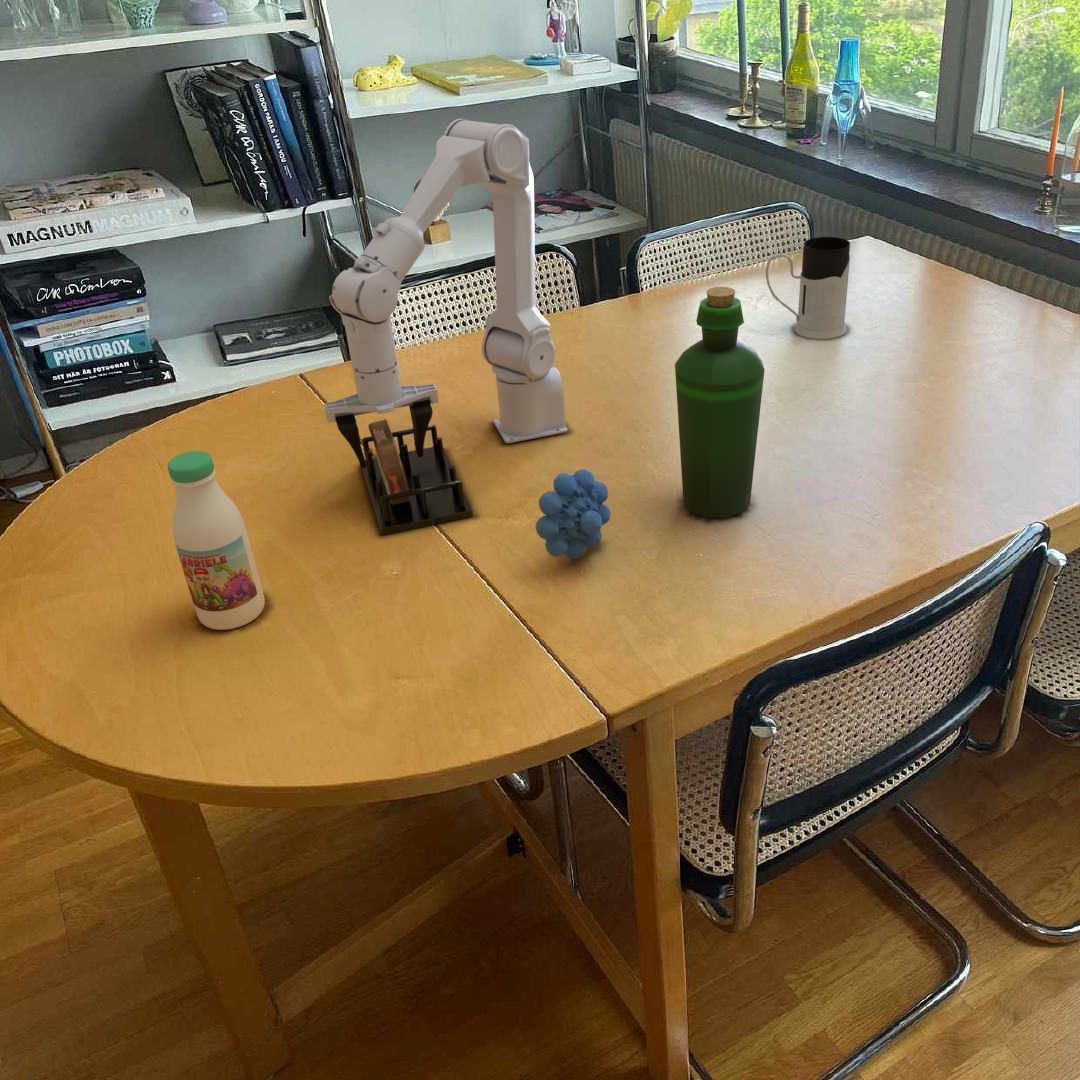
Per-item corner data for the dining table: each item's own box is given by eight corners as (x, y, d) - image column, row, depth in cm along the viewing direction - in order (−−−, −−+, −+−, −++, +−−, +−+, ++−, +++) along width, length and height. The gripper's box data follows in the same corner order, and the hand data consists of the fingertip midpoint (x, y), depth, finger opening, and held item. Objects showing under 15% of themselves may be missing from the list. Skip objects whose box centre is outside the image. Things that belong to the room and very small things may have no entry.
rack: (443, 451, 151) (439, 420, 148) (473, 516, 134) (469, 483, 131) (361, 466, 148) (355, 435, 146) (381, 535, 132) (375, 502, 129)
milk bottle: (205, 596, 123) (160, 446, 112) (270, 589, 123) (231, 439, 113) (192, 635, 116) (143, 480, 106) (261, 627, 117) (218, 472, 106)
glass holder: (852, 337, 175) (860, 249, 167) (767, 342, 176) (771, 255, 168) (840, 318, 183) (847, 234, 175) (759, 324, 183) (762, 239, 175)
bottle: (764, 487, 135) (775, 277, 120) (751, 529, 127) (760, 310, 112) (684, 479, 138) (684, 274, 123) (665, 520, 130) (663, 305, 115)
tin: (414, 512, 134) (404, 455, 130) (390, 517, 133) (380, 459, 129) (396, 462, 146) (387, 408, 142) (374, 466, 146) (364, 412, 141)
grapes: (568, 592, 118) (562, 502, 112) (527, 571, 123) (519, 483, 116) (635, 549, 125) (633, 461, 118) (594, 530, 129) (590, 444, 123)
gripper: (320, 386, 126) (340, 483, 133) (437, 365, 129) (450, 461, 136) (315, 365, 132) (334, 459, 139) (426, 346, 135) (440, 439, 142)
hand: (391, 459), depth 138 cm, fingers open, 7 cm apart
